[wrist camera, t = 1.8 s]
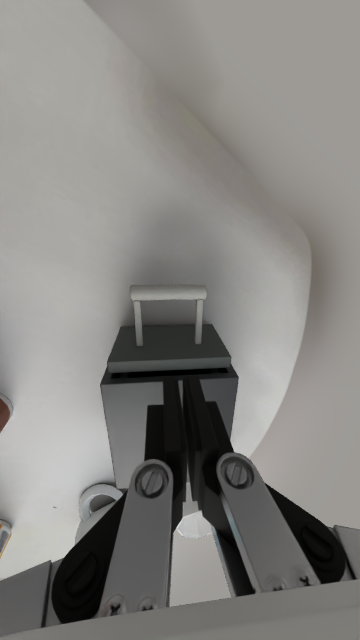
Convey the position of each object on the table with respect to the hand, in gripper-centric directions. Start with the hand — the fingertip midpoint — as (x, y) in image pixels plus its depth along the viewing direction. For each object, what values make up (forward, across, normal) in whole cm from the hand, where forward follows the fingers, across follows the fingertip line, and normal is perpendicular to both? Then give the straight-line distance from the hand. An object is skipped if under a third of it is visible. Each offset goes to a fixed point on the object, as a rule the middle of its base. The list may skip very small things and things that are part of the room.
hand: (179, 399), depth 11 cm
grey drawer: (+16, 0, +7) cm, 18 cm away
